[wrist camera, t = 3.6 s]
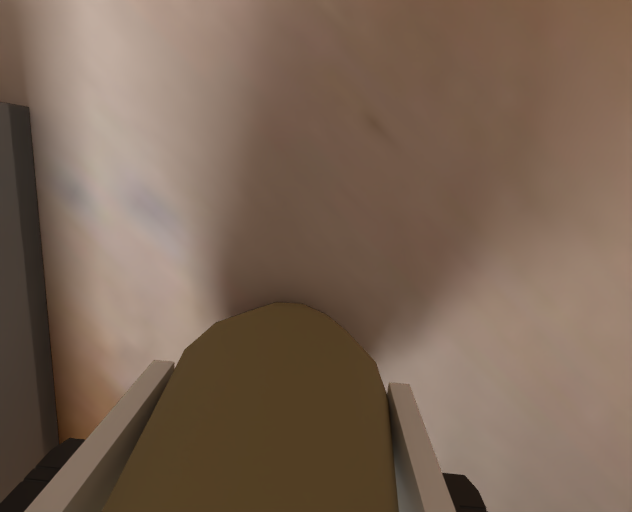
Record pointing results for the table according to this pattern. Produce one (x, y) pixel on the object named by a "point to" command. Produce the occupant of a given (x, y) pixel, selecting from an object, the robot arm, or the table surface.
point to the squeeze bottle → (266, 423)
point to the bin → (22, 311)
